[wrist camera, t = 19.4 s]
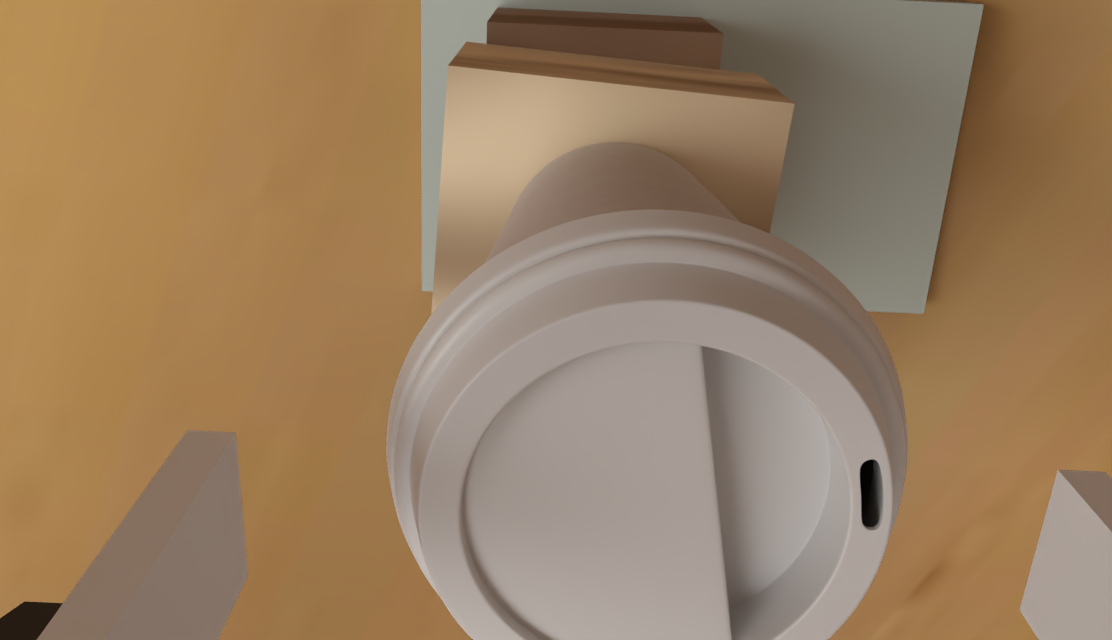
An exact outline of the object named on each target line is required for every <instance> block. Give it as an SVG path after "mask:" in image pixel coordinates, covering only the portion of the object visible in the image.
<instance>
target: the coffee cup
mask: <svg viewBox="0 0 1112 640" xmlns="http://www.w3.org/2000/svg"><path fill="white" fill-rule="evenodd" d="M387 465H388V473H389V479H390V485H391V489H392V495H393V500H394V505H395V509H396V512H397V516H398V519H399V522H400V525H401V528H402V531H403V533H404V536H405V538H406V541H407V543H408V545H409V547H410V549H411V551H412V553H413V555H414V557H415V559H416V561H417V563H418V565H419V566H420V568H421V570H422V572H423V573H424V575H425V577H426V578H427V580H428V581H429V583H430V584H431V586H432V587H433V588H434V590H435V591H436V592H437V594H438V595H439V596H440V597H441V599H442V601H443V602H444V604H445V605H446V607H447V608H448V610H449V611H450V613H451V614H452V616H453V617H454V618H455V620H456V621H457V622H458V624H459V625H460V626H461V627H462V628H463V630H464V631H465V632H466V633H467V634H468V635H469V636H470V637H471V638H472V639H473V640H828V639H829V638H830V637H831V636H832V635H833V634H834V633H835V632H836V631H837V630H838V629H839V628H840V627H841V626H842V625H843V623H844V622H845V621H846V620H847V619H848V618H849V616H850V615H851V614H852V613H853V611H854V610H855V609H856V607H857V606H858V604H859V603H860V601H861V600H862V598H863V597H864V595H865V594H866V592H867V590H868V589H869V587H870V585H871V583H872V581H873V579H874V577H875V575H876V573H877V571H878V568H879V566H880V564H881V561H882V558H883V555H884V552H885V549H886V546H887V542H888V538H889V536H890V533H891V531H892V528H893V525H894V523H895V520H896V516H897V513H898V509H899V505H900V501H901V497H902V492H903V486H904V481H905V474H906V465H907V427H906V418H905V408H904V401H903V395H902V390H901V386H900V382H899V378H898V374H897V371H896V368H895V365H894V362H893V360H892V357H891V355H890V352H889V350H888V348H887V345H886V343H885V341H884V339H883V337H882V335H881V334H880V332H879V330H878V328H877V327H876V325H875V323H874V322H873V320H872V319H871V317H870V316H869V314H868V313H867V311H866V310H865V309H864V307H863V306H862V305H861V304H860V302H859V301H858V300H857V299H856V297H855V296H854V295H853V294H852V293H851V292H850V291H849V290H848V289H847V287H846V286H845V285H844V284H843V283H842V282H841V281H839V280H838V279H837V278H836V277H835V276H834V275H833V274H832V273H831V272H830V271H828V270H827V269H826V268H825V267H823V266H822V265H821V264H820V263H818V262H817V261H816V260H814V259H813V258H811V257H810V256H809V255H807V254H806V253H804V252H803V251H801V250H799V249H798V248H796V247H794V246H793V245H791V244H789V243H787V242H785V241H783V240H782V239H780V238H778V237H776V236H773V235H771V234H769V233H767V232H764V231H762V230H760V229H757V228H755V227H752V226H749V225H746V224H743V223H741V222H740V221H739V220H738V219H737V218H736V217H735V216H734V215H733V214H732V213H731V212H730V211H729V210H728V209H727V208H726V207H725V206H724V205H723V204H722V203H721V202H720V201H719V200H718V199H717V198H716V197H714V196H713V195H712V194H711V193H710V192H709V191H708V190H707V189H706V188H705V187H704V186H703V185H702V184H701V183H700V182H699V181H698V180H697V179H696V178H695V177H694V176H693V175H692V174H691V173H690V172H689V171H688V170H687V169H686V168H685V167H683V166H682V165H681V164H680V163H678V162H677V161H675V160H674V159H672V158H670V157H669V156H667V155H665V154H663V153H661V152H659V151H656V150H654V149H651V148H648V147H645V146H641V145H636V144H631V143H620V142H609V143H599V144H593V145H589V146H585V147H581V148H578V149H576V150H573V151H571V152H568V153H566V154H564V155H562V156H560V157H559V158H557V159H555V160H554V161H552V162H551V163H549V164H548V165H547V166H546V167H544V168H543V169H542V170H541V171H540V172H539V173H538V174H536V176H535V177H534V178H533V179H532V180H531V181H530V182H529V183H528V185H527V186H526V187H525V189H524V190H523V192H522V193H521V195H520V196H519V198H518V200H517V202H516V204H515V206H514V208H513V209H512V211H511V213H510V215H509V217H508V219H507V221H506V223H505V225H504V227H503V229H502V231H501V233H500V235H499V237H498V239H497V241H496V242H495V244H494V246H493V248H492V250H491V252H490V254H489V256H488V258H487V260H486V262H485V263H484V264H483V265H482V266H480V267H479V268H478V269H476V270H475V271H474V272H473V273H471V274H470V275H469V276H468V277H467V278H466V279H464V280H463V281H462V282H461V283H460V284H459V285H458V286H457V287H456V288H455V289H454V290H453V291H452V292H451V293H450V294H449V295H448V296H447V297H446V298H445V299H444V300H443V302H442V303H441V304H440V305H439V306H438V307H437V309H436V310H435V311H434V313H433V314H432V315H431V316H430V318H429V319H428V321H427V322H426V323H425V325H424V326H423V328H422V329H421V331H420V332H419V334H418V336H417V337H416V339H415V341H414V343H413V344H412V346H411V348H410V350H409V352H408V354H407V356H406V359H405V361H404V363H403V366H402V368H401V371H400V373H399V376H398V379H397V382H396V385H395V389H394V392H393V396H392V400H391V405H390V410H389V417H388V425H387Z"/></svg>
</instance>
